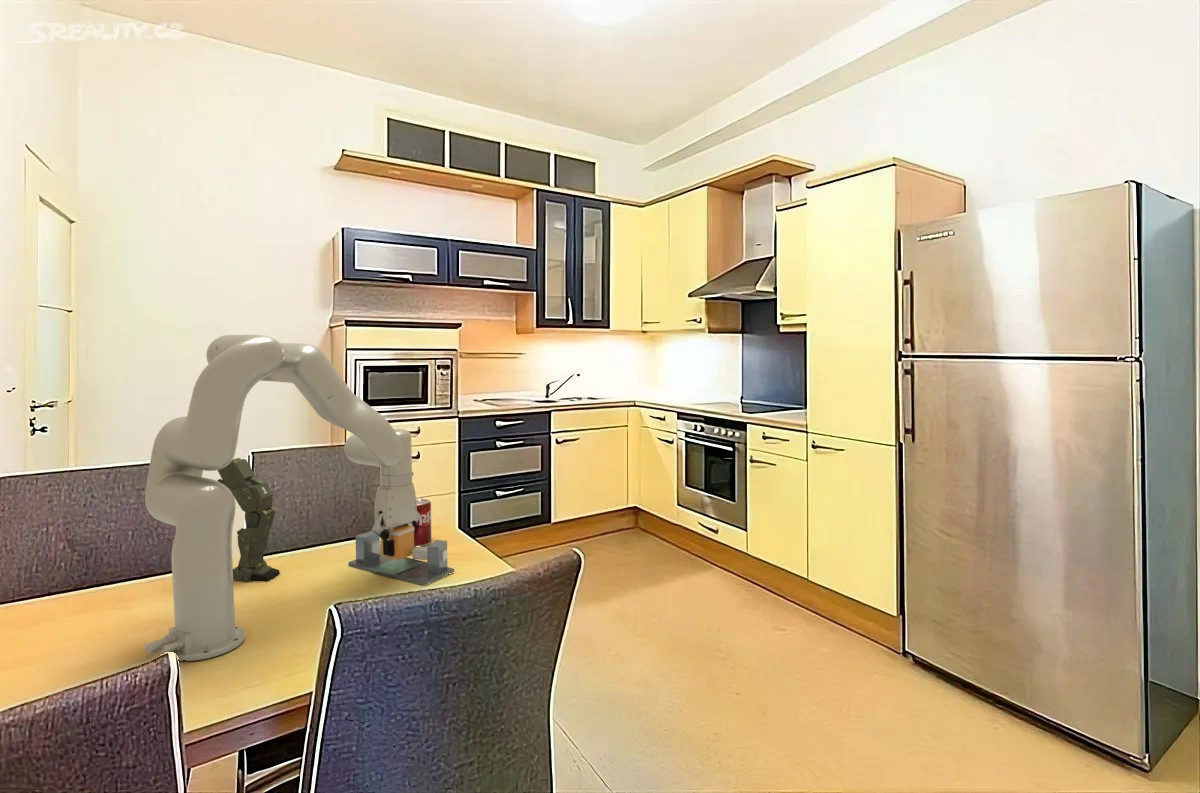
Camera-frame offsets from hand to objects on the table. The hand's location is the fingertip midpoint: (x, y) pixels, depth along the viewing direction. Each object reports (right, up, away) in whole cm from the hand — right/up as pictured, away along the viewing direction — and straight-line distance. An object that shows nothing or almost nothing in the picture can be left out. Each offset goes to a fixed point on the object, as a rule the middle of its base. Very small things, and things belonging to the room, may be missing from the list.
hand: (397, 551), depth 159 cm
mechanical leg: (-34, -5, -5) cm, 35 cm away
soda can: (-1, -3, +21) cm, 22 cm away
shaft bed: (0, -5, 0) cm, 5 cm away
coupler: (0, -1, 0) cm, 1 cm away
